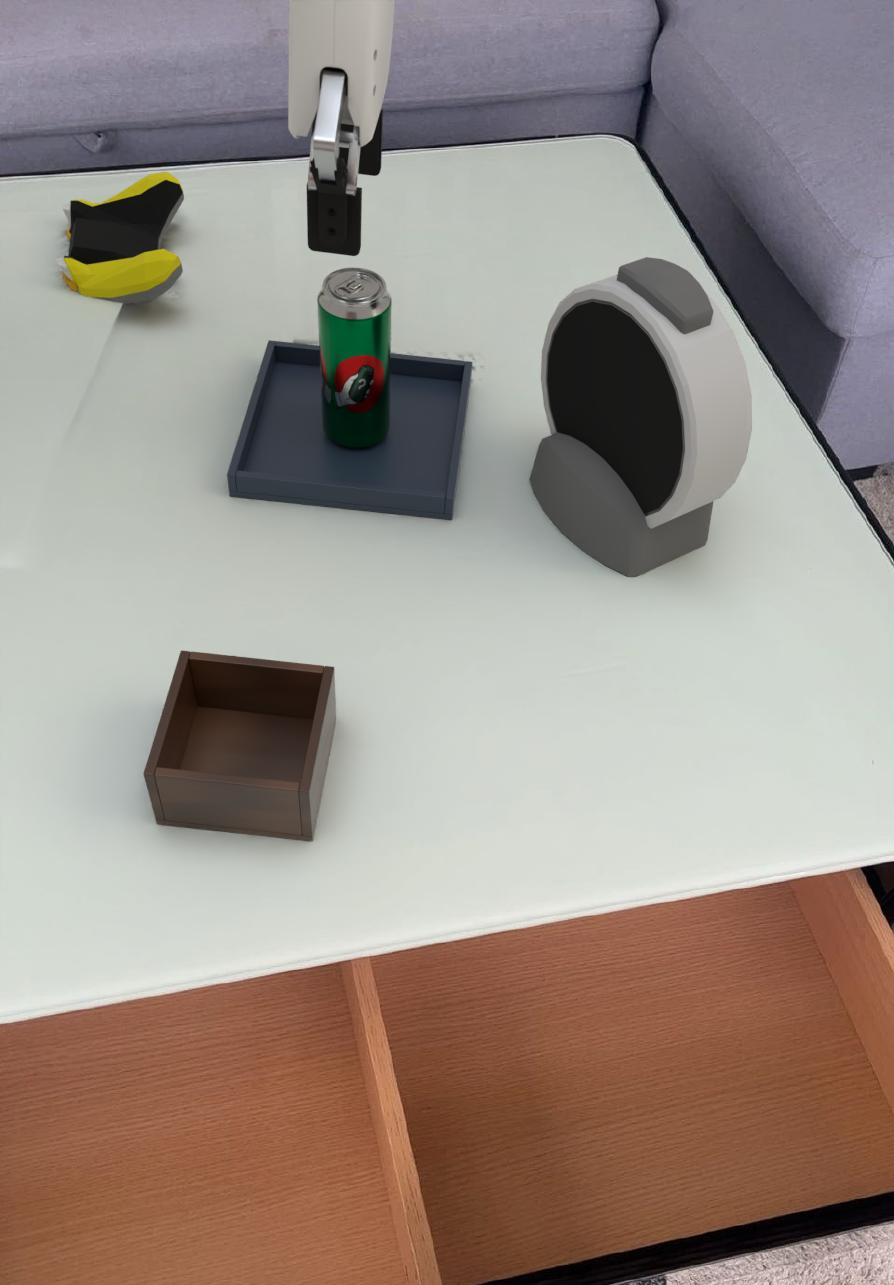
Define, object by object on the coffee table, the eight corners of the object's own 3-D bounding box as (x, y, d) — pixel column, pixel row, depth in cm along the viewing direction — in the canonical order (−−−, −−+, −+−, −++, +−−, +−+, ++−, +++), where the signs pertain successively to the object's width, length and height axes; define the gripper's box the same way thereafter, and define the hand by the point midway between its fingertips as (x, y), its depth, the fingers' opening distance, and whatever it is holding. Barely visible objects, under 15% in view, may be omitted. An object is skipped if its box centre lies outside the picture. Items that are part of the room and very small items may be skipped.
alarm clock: (497, 468, 89) (523, 234, 74) (604, 425, 92) (649, 194, 77) (631, 602, 81) (689, 373, 66) (741, 550, 85) (820, 321, 70)
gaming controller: (189, 226, 105) (74, 228, 104) (181, 164, 101) (61, 165, 100) (188, 326, 97) (62, 328, 96) (179, 263, 92) (47, 264, 91)
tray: (229, 496, 85) (226, 474, 84) (270, 362, 95) (268, 339, 93) (452, 520, 85) (453, 498, 83) (470, 383, 94) (472, 361, 93)
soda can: (403, 431, 90) (407, 285, 80) (356, 462, 87) (354, 316, 78) (355, 402, 91) (353, 255, 82) (308, 431, 89) (301, 284, 79)
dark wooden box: (156, 824, 69) (142, 773, 65) (191, 703, 74) (180, 649, 70) (312, 841, 69) (309, 792, 65) (336, 719, 74) (334, 666, 70)
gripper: (304, -176, 66) (309, 137, 80) (244, -57, 56) (262, 277, 70) (436, -159, 66) (418, 151, 80) (400, -37, 56) (387, 293, 70)
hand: (345, 210), depth 75 cm, fingers open, 9 cm apart
